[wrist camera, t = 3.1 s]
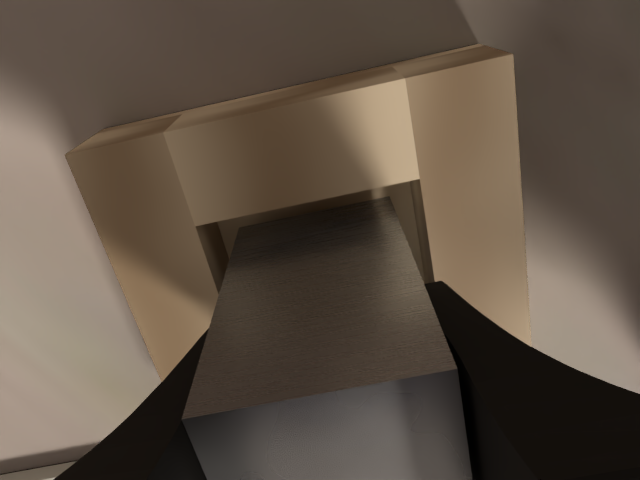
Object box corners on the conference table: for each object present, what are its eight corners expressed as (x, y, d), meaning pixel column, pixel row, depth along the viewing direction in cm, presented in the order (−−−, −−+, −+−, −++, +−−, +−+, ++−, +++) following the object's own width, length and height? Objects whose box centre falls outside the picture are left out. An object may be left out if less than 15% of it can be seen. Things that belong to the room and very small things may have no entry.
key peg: (389, 196, 14) (457, 368, 7) (411, 324, 15) (482, 554, 9) (239, 227, 14) (181, 419, 8) (276, 349, 16) (254, 590, 9)
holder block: (478, 43, 14) (512, 54, 11) (506, 358, 18) (535, 412, 15) (103, 128, 14) (64, 154, 12) (213, 412, 18) (200, 472, 16)
